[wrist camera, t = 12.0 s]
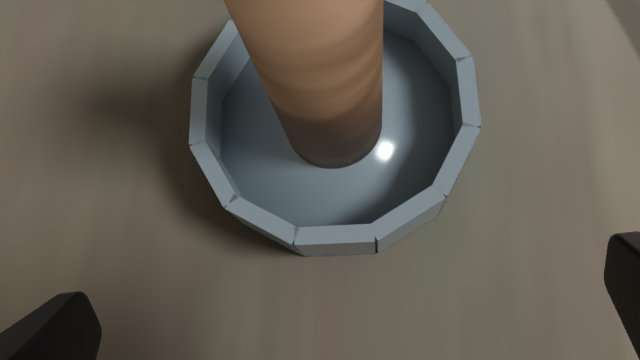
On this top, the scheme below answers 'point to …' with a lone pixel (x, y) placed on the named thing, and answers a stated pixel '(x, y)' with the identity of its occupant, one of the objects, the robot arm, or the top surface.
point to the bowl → (353, 181)
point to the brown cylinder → (319, 72)
